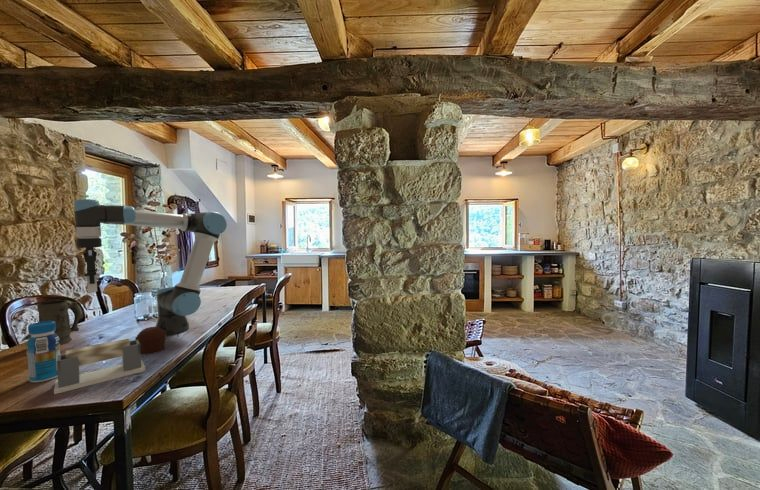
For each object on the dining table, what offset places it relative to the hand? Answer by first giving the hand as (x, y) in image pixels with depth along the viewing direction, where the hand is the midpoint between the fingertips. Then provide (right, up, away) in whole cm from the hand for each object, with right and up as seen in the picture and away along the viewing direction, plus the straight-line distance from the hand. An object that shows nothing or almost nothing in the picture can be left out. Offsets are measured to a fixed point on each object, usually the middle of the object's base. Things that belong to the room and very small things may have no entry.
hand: (92, 289), depth 130 cm
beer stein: (-36, -28, +23) cm, 51 cm away
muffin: (+18, -28, +9) cm, 35 cm away
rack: (+17, -29, -15) cm, 37 cm away
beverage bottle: (-3, -30, -15) cm, 34 cm away
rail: (+17, -23, -16) cm, 33 cm away
